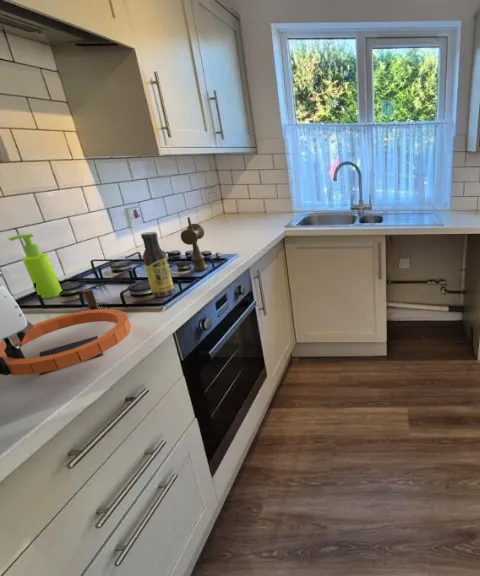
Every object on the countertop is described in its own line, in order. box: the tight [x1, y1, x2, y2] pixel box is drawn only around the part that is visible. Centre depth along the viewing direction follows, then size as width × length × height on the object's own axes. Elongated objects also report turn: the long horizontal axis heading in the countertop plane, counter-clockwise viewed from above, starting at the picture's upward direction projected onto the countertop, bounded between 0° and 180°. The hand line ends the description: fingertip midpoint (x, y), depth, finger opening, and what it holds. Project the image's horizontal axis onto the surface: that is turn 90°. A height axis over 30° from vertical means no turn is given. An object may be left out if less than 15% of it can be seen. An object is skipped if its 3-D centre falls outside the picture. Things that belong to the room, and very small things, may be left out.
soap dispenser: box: [8, 233, 63, 300], centre depth 113 cm, size 6×7×20 cm
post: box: [78, 288, 109, 312], centre depth 105 cm, size 7×7×6 cm
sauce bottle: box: [140, 231, 175, 298], centre depth 111 cm, size 7×6×20 cm
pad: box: [38, 335, 104, 375], centre depth 84 cm, size 11×11×1 cm
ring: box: [0, 308, 132, 376], centre depth 82 cm, size 24×24×3 cm
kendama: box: [180, 216, 209, 272], centre depth 132 cm, size 6×10×20 cm, turn 12°
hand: (11, 369), depth 73 cm, fingers closed on ring, 2 cm apart
